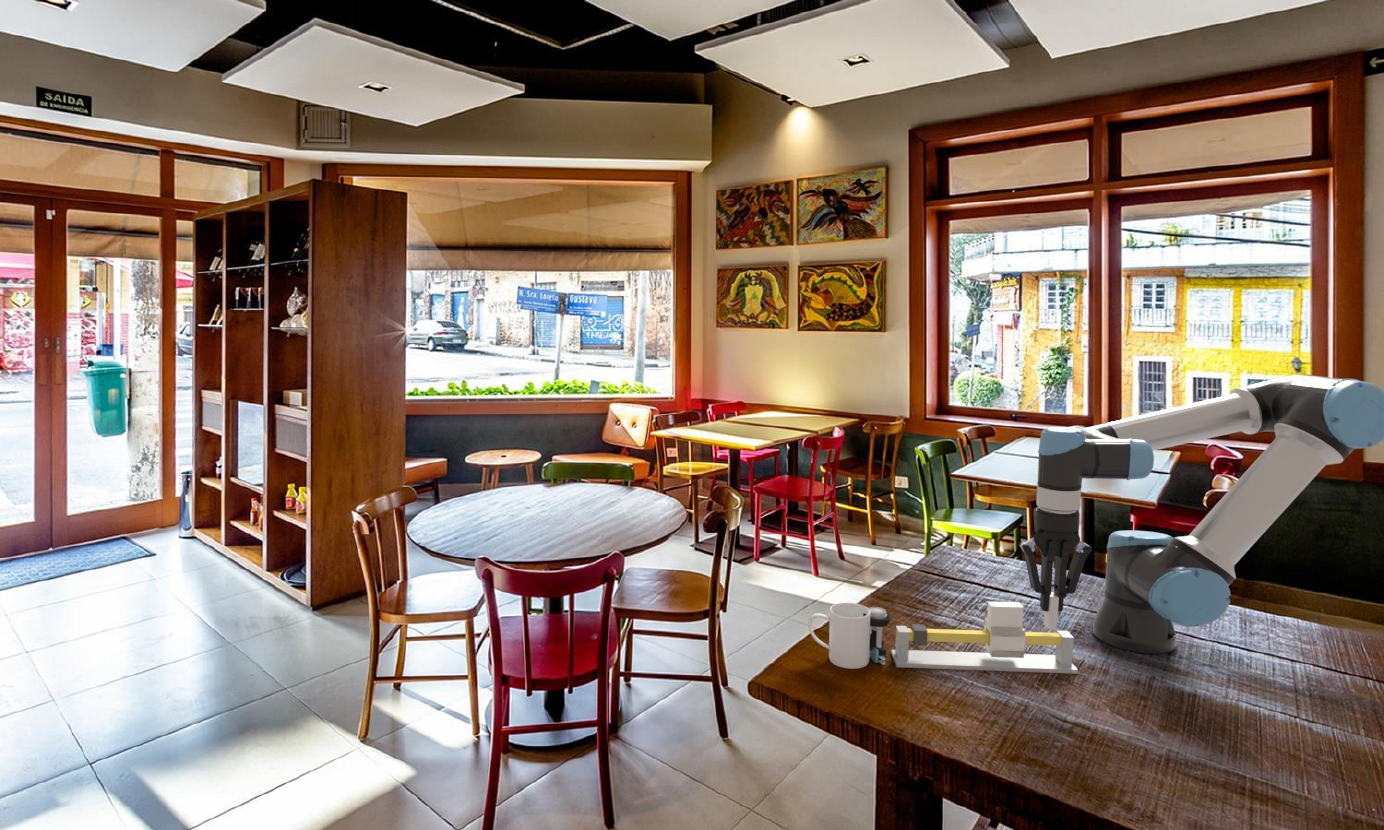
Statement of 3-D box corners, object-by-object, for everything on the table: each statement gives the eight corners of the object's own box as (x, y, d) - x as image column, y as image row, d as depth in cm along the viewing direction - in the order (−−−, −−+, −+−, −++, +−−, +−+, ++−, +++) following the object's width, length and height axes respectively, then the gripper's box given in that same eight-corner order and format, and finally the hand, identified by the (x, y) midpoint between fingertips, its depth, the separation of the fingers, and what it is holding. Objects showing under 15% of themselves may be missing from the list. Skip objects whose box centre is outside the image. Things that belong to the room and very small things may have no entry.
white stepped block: (1014, 645, 148) (1016, 599, 147) (1023, 657, 143) (1026, 610, 141) (983, 644, 149) (985, 598, 147) (991, 656, 143) (994, 609, 142)
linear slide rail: (1065, 659, 148) (1067, 627, 147) (1077, 673, 142) (1079, 640, 141) (891, 653, 151) (892, 622, 150) (896, 667, 145) (897, 635, 144)
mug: (863, 650, 152) (864, 601, 151) (873, 668, 144) (875, 617, 143) (804, 652, 152) (805, 603, 150) (812, 670, 144) (812, 619, 143)
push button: (896, 666, 146) (898, 617, 144) (870, 667, 145) (872, 619, 143) (882, 651, 152) (884, 604, 151) (857, 652, 151) (859, 605, 150)
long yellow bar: (1061, 643, 146) (1062, 628, 145) (1067, 650, 143) (1068, 635, 142) (895, 637, 149) (896, 623, 148) (898, 644, 146) (898, 629, 146)
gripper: (1084, 504, 144) (1077, 619, 147) (1015, 502, 145) (1009, 617, 148) (1102, 514, 136) (1093, 635, 140) (1028, 513, 138) (1022, 633, 141)
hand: (1050, 626), depth 144 cm, fingers closed
